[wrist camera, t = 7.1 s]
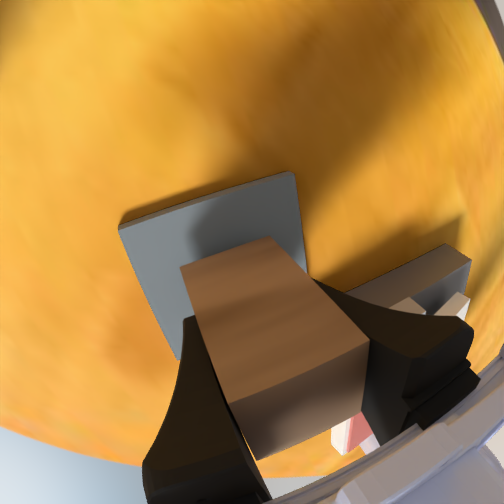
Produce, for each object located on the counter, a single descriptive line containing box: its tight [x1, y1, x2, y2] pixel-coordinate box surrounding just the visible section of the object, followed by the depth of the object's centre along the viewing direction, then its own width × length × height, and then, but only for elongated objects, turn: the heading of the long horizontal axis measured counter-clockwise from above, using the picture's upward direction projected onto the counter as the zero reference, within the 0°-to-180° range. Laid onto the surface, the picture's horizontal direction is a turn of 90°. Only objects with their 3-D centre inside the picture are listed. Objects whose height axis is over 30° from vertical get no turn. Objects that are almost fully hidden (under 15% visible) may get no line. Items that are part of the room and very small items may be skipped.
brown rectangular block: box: [179, 235, 370, 461], centre depth 11 cm, size 4×4×7 cm
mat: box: [118, 171, 307, 361], centre depth 16 cm, size 8×8×1 cm
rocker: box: [331, 292, 470, 456], centre depth 18 cm, size 6×12×1 cm, turn 100°
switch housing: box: [345, 243, 472, 315], centre depth 20 cm, size 9×16×4 cm, turn 100°
